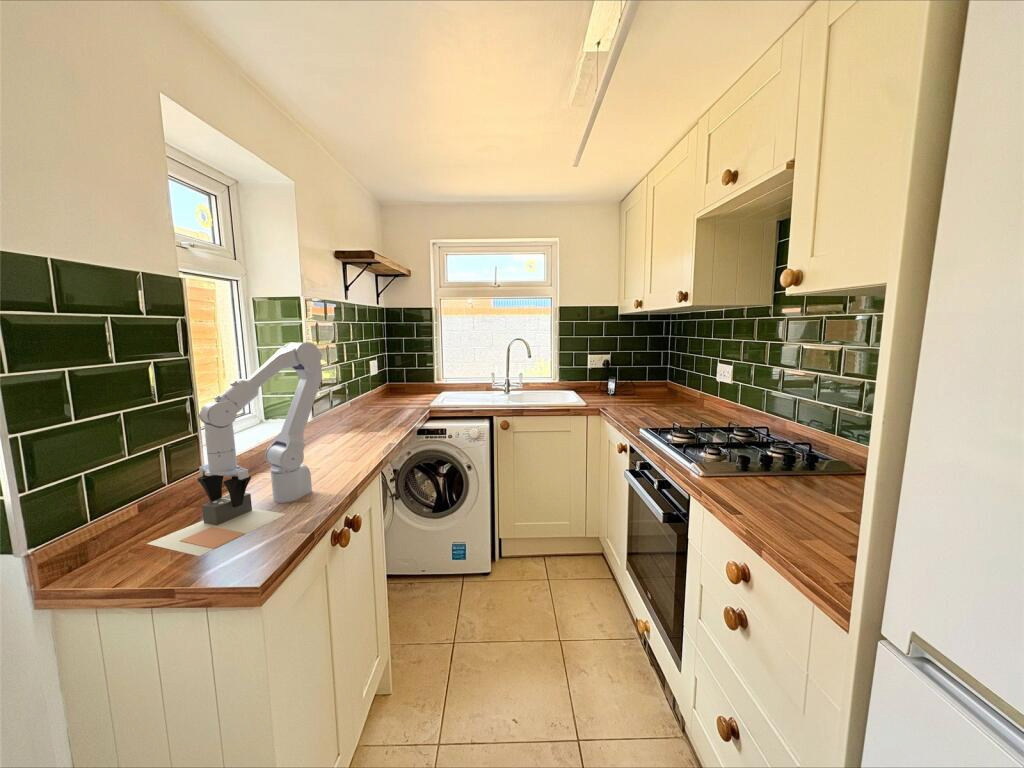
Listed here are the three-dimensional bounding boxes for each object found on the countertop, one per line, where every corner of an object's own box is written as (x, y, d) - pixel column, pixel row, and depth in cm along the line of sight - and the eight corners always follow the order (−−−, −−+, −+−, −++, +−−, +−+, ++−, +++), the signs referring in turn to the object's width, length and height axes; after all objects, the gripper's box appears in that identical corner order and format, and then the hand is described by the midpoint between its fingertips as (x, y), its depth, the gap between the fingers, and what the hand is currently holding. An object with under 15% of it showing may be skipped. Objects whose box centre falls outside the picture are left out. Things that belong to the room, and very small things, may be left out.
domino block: (239, 508, 109) (237, 491, 109) (252, 510, 108) (250, 493, 107) (203, 523, 101) (201, 504, 100) (217, 525, 99) (214, 507, 99)
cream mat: (238, 508, 111) (238, 505, 111) (286, 516, 105) (286, 513, 105) (146, 546, 91) (146, 542, 91) (199, 558, 85) (199, 555, 85)
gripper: (184, 452, 101) (190, 506, 103) (226, 457, 96) (231, 514, 98) (213, 445, 108) (219, 496, 109) (254, 449, 103) (259, 502, 104)
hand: (226, 504), depth 104 cm, fingers open, 7 cm apart
